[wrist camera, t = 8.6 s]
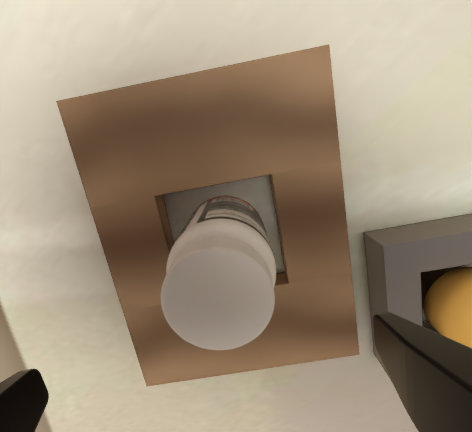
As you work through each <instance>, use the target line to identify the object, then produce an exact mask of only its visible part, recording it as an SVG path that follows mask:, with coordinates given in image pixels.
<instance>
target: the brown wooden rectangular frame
mask: <svg viewBox="0 0 472 432" xmlns="http://www.w3.org/2000/svg"><path fill="white" fill-rule="evenodd" d="M57 105H58V108H59V111H60V114H61V117H62V120H63V124H64V127H65V130H66V133H67V136H68V139H69V143H70V146H71V149H72V152H73V155H74V158H75V161H76V165H77V168H78V171H79V174H80V177H81V180H82V184H83V187H84V190H85V193H86V196H87V199H88V202H89V206H90V209H91V212H92V215H93V218H94V221H95V225H96V228H97V231H98V234H99V237H100V240H101V243H102V247H103V250H104V253H105V256H106V259H107V262H108V266H109V269H110V272H111V275H112V278H113V281H114V285H115V288H116V291H117V294H118V297H119V300H120V303H121V307H122V310H123V313H124V316H125V319H126V322H127V326H128V329H129V332H130V335H131V338H132V341H133V344H134V348H135V351H136V354H137V357H138V360H139V363H140V367H141V370H142V373H143V376H144V379H145V382H146V386H152V385H159V384H166V383H172V382H179V381H186V380H192V379H199V378H206V377H212V376H219V375H225V374H232V373H239V372H245V371H252V370H259V369H265V368H272V367H279V366H285V365H292V364H298V363H305V362H312V361H318V360H325V359H332V358H338V357H345V356H352V355H358V354H359V345H358V335H357V324H356V314H355V304H354V294H353V284H352V273H351V263H350V253H349V243H348V232H347V222H346V212H345V202H344V192H343V181H342V171H341V161H340V151H339V141H338V130H337V120H336V110H335V100H334V89H333V79H332V69H331V59H330V49H329V45H325V46H320V47H315V48H310V49H305V50H301V51H296V52H291V53H286V54H281V55H276V56H272V57H267V58H262V59H257V60H252V61H248V62H243V63H238V64H233V65H228V66H224V67H219V68H214V69H209V70H204V71H199V72H195V73H190V74H185V75H180V76H175V77H171V78H166V79H161V80H156V81H151V82H147V83H142V84H137V85H132V86H127V87H122V88H118V89H113V90H108V91H103V92H98V93H94V94H89V95H84V96H79V97H74V98H70V99H65V100H60V101H57ZM269 174H270V180H271V186H272V192H273V199H274V205H275V211H276V217H277V224H278V230H279V236H280V243H281V249H282V255H283V262H284V268H285V273H279V274H276V282H275V286H274V293H275V305H274V311H273V314H272V317H271V319H270V321H269V323H268V325H267V326H266V328H265V329H264V330H263V332H262V333H261V334H260V335H259V336H258V337H256V338H255V339H254V340H252V341H251V342H249V343H247V344H245V345H243V346H240V347H237V348H234V349H229V350H210V349H204V348H200V347H198V346H195V345H193V344H191V343H189V342H187V341H185V340H184V339H182V338H181V337H180V336H179V335H178V334H177V333H176V332H175V331H174V330H173V329H172V328H171V327H170V325H169V324H168V322H167V320H166V318H165V316H164V314H163V310H162V307H161V289H162V285H163V282H164V279H165V277H166V267H167V260H168V257H169V253H170V251H171V249H172V247H173V245H174V240H173V237H172V233H171V229H170V225H169V221H168V217H167V213H166V209H165V205H164V201H163V197H162V194H167V193H173V192H178V191H183V190H189V189H194V188H200V187H205V186H210V185H216V184H221V183H226V182H232V181H237V180H243V179H248V178H253V177H259V176H264V175H269Z"/></svg>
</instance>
